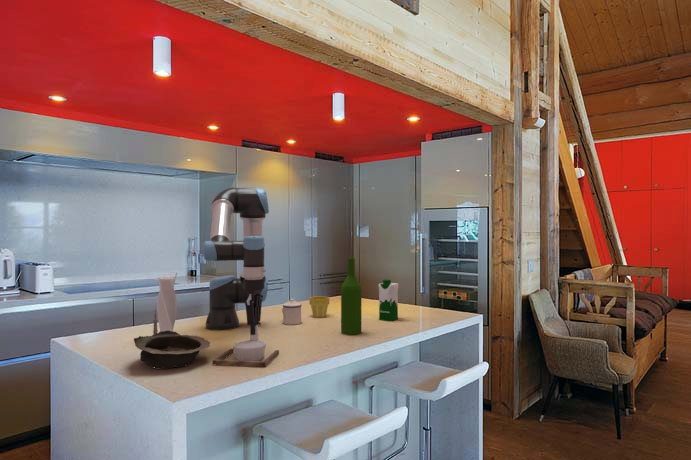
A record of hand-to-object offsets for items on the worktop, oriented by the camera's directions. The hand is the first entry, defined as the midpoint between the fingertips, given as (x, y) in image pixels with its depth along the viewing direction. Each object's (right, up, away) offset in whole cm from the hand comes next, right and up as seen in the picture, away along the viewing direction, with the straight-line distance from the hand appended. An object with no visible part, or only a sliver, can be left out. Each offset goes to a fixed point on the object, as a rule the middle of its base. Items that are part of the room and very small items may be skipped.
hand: (254, 343), depth 163 cm
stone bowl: (-26, -4, -10) cm, 28 cm away
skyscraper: (-41, -4, +21) cm, 46 cm away
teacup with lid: (+6, -4, +54) cm, 55 cm away
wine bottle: (+36, -4, +33) cm, 49 cm away
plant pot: (+20, -4, +70) cm, 72 cm away
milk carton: (+55, -4, +62) cm, 83 cm away
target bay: (-1, -4, -6) cm, 7 cm away
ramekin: (0, -4, -6) cm, 8 cm away
